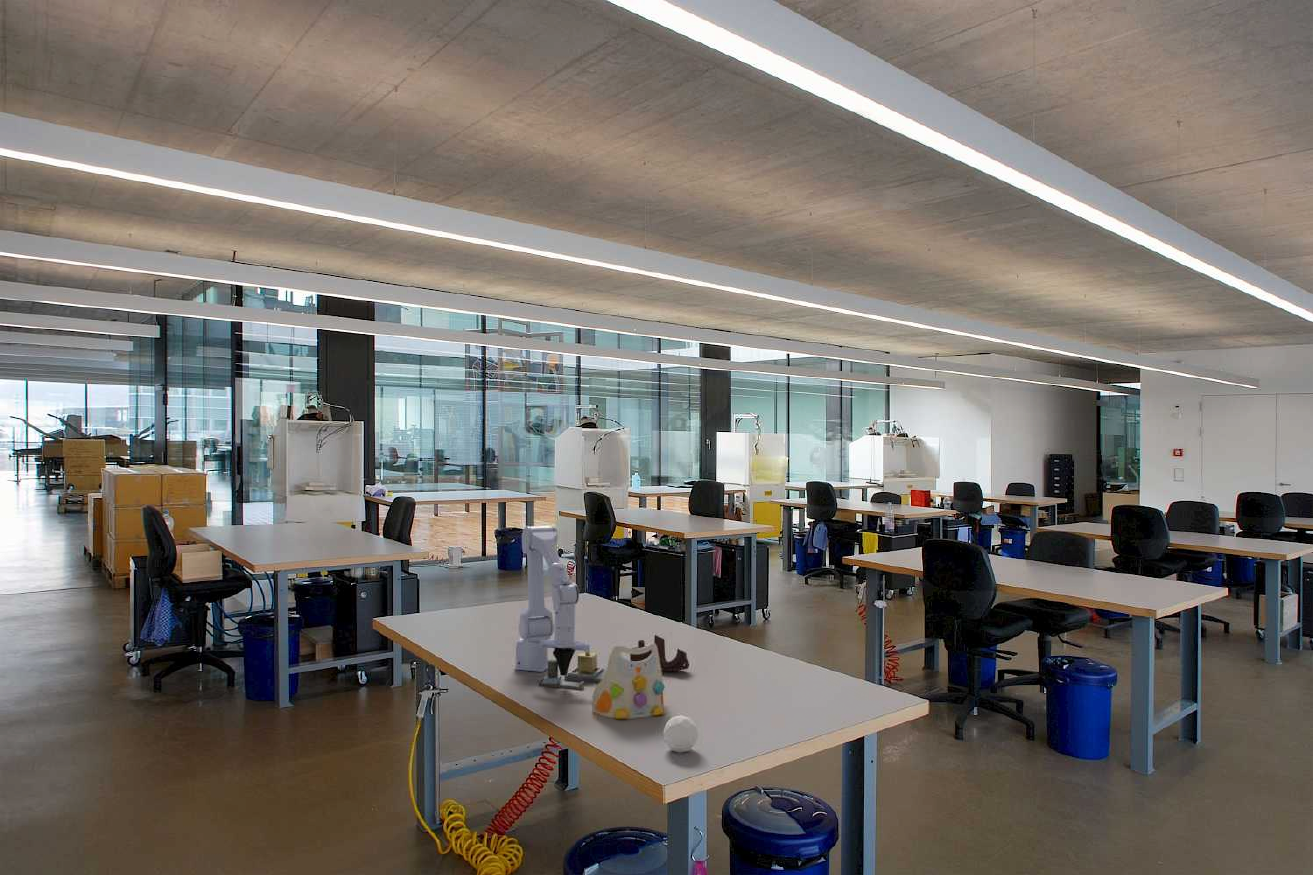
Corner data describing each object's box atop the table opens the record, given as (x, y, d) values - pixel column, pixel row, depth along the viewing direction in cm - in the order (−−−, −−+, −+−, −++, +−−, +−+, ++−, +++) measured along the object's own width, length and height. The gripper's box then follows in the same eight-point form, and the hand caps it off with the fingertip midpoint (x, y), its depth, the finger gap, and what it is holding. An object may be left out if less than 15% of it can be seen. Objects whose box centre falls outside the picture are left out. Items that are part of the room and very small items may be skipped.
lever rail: (538, 685, 226) (538, 679, 226) (541, 683, 229) (541, 677, 229) (581, 689, 223) (581, 683, 223) (584, 687, 225) (584, 681, 225)
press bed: (564, 679, 232) (564, 656, 233) (576, 670, 242) (576, 648, 242) (609, 683, 229) (610, 660, 229) (620, 674, 239) (620, 652, 239)
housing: (577, 674, 234) (577, 651, 234) (582, 670, 238) (582, 648, 238) (591, 675, 233) (592, 652, 233) (596, 671, 237) (597, 649, 237)
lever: (543, 682, 225) (544, 661, 226) (548, 679, 229) (548, 658, 229) (556, 684, 224) (557, 662, 225) (561, 681, 228) (561, 660, 228)
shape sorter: (604, 723, 196) (606, 651, 196) (591, 710, 205) (592, 642, 206) (677, 714, 203) (678, 645, 204) (660, 702, 213) (661, 636, 213)
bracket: (684, 666, 238) (682, 631, 242) (630, 673, 244) (629, 638, 248) (692, 669, 243) (690, 635, 248) (638, 675, 249) (637, 642, 254)
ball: (683, 766, 176) (679, 745, 172) (658, 744, 181) (654, 723, 177) (706, 743, 180) (703, 722, 176) (681, 722, 185) (678, 702, 181)
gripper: (535, 627, 224) (534, 676, 224) (583, 631, 220) (583, 680, 220) (545, 622, 231) (544, 669, 230) (592, 626, 227) (591, 673, 227)
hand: (563, 674), depth 226 cm, fingers closed
